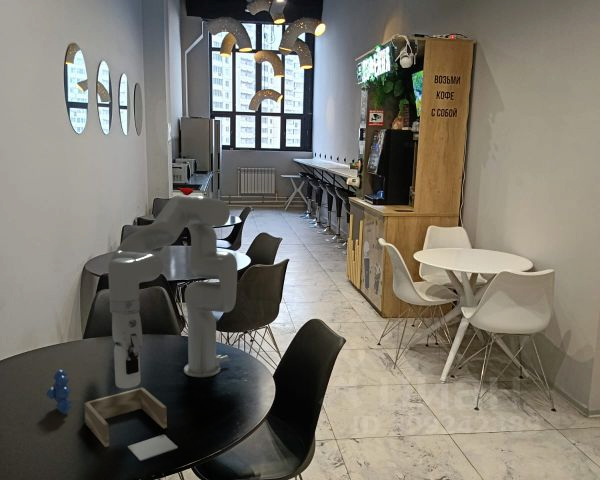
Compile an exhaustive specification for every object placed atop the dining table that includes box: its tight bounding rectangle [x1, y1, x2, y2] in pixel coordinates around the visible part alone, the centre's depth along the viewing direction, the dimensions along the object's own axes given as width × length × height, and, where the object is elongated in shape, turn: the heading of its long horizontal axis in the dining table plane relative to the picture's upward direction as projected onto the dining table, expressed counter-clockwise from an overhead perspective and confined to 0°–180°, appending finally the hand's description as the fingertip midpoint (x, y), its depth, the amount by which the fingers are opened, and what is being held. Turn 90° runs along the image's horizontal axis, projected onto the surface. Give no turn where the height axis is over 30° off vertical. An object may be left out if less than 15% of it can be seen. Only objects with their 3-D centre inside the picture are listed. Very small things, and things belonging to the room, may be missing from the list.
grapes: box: [45, 369, 72, 415], centre depth 158 cm, size 12×7×12 cm, turn 32°
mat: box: [127, 434, 178, 462], centre depth 141 cm, size 10×8×1 cm
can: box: [113, 342, 141, 390], centre depth 148 cm, size 6×6×12 cm
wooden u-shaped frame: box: [83, 387, 168, 448], centre depth 151 cm, size 17×16×6 cm
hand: (127, 368), depth 148 cm, fingers closed on can, 6 cm apart
